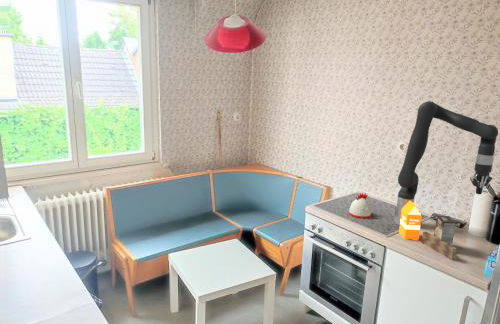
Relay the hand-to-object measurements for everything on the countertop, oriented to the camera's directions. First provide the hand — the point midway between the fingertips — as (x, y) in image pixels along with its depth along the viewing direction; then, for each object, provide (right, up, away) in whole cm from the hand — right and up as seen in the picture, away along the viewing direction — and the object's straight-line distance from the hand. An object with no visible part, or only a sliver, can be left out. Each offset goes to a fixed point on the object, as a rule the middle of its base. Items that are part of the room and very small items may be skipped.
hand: (478, 193), depth 185 cm
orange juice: (-34, -25, +10) cm, 43 cm away
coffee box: (-21, -28, -2) cm, 35 cm away
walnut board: (-26, -29, -7) cm, 39 cm away
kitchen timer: (-51, -18, +40) cm, 67 cm away
